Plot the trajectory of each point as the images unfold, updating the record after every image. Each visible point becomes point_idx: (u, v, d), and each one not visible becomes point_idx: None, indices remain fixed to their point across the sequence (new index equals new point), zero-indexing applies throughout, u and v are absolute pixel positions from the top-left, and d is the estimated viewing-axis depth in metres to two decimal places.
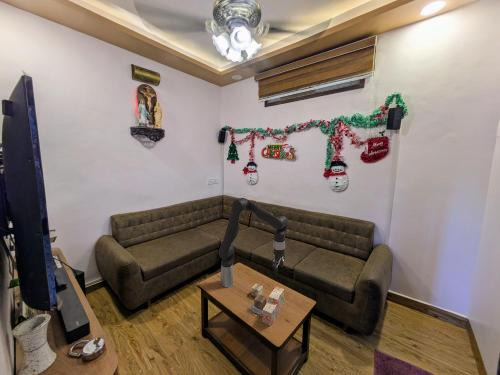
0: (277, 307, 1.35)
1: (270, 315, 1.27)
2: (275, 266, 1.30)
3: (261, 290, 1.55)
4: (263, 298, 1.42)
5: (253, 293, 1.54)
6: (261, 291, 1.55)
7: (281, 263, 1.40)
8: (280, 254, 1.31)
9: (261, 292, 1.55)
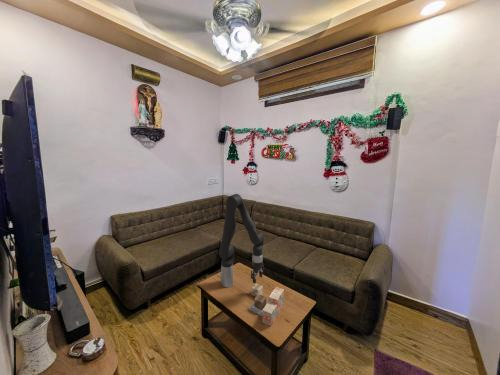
0: (277, 307, 1.35)
1: (270, 315, 1.27)
2: (253, 277, 1.47)
3: (261, 290, 1.55)
4: (263, 298, 1.42)
5: (253, 293, 1.54)
6: (261, 291, 1.55)
7: (260, 274, 1.56)
8: (258, 266, 1.48)
9: (261, 292, 1.55)
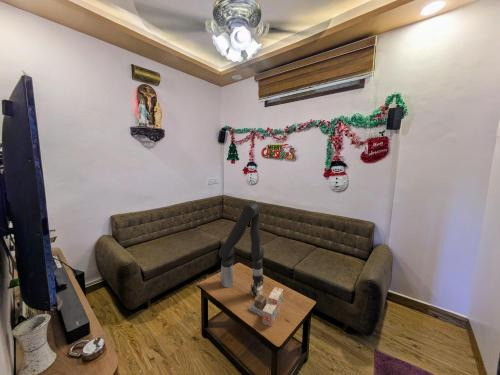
0: (277, 307, 1.35)
1: (270, 316, 1.26)
2: (254, 291, 1.49)
3: (261, 290, 1.55)
4: (263, 298, 1.42)
5: None
6: (261, 291, 1.55)
7: None
8: (258, 280, 1.50)
9: (261, 292, 1.55)
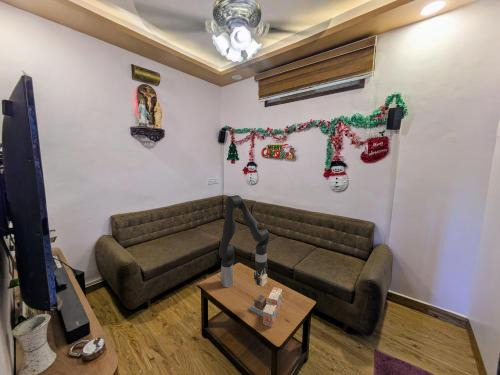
0: (276, 308, 1.35)
1: (271, 316, 1.26)
2: (257, 279, 1.33)
3: (265, 278, 1.38)
4: (263, 298, 1.42)
5: None
6: (265, 280, 1.38)
7: None
8: (261, 266, 1.33)
9: (265, 281, 1.39)
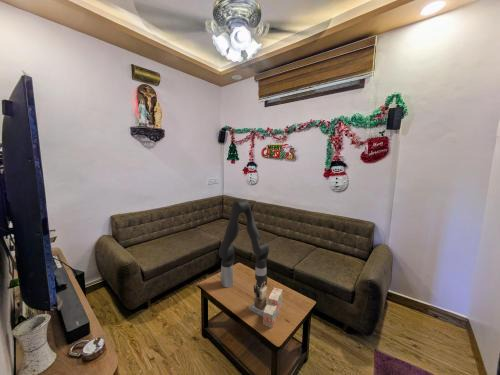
0: (277, 308, 1.34)
1: (271, 317, 1.26)
2: (257, 292, 1.35)
3: (265, 291, 1.40)
4: None
5: None
6: (265, 292, 1.40)
7: None
8: (261, 280, 1.35)
9: (265, 293, 1.40)
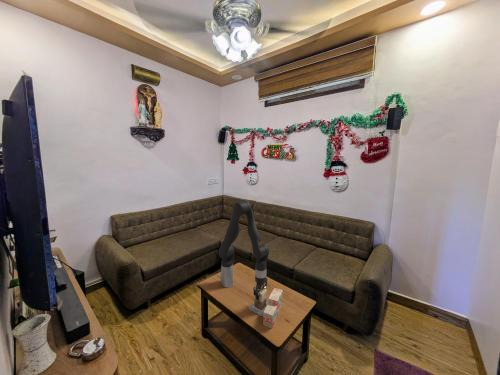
0: (277, 309, 1.34)
1: (271, 317, 1.25)
2: (256, 294, 1.35)
3: (265, 294, 1.40)
4: None
5: None
6: (265, 295, 1.41)
7: None
8: (261, 282, 1.35)
9: (265, 296, 1.41)
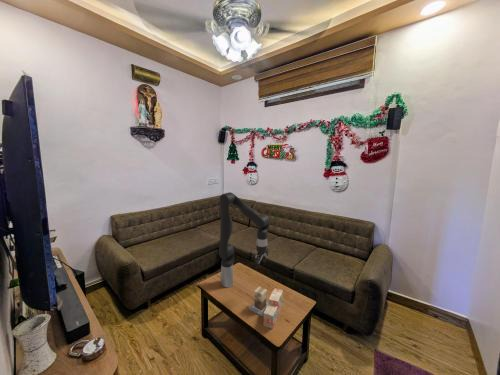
0: (277, 309, 1.34)
1: (272, 318, 1.25)
2: (257, 262, 1.40)
3: (265, 294, 1.40)
4: None
5: (256, 297, 1.40)
6: (265, 295, 1.41)
7: (264, 259, 1.49)
8: (262, 251, 1.41)
9: (265, 296, 1.41)
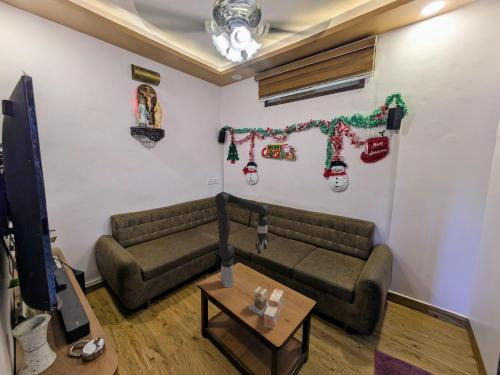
0: (278, 310, 1.33)
1: (272, 319, 1.24)
2: (258, 247, 1.48)
3: (265, 294, 1.40)
4: None
5: (256, 297, 1.40)
6: (265, 295, 1.41)
7: (265, 246, 1.58)
8: (263, 237, 1.49)
9: (265, 296, 1.41)
